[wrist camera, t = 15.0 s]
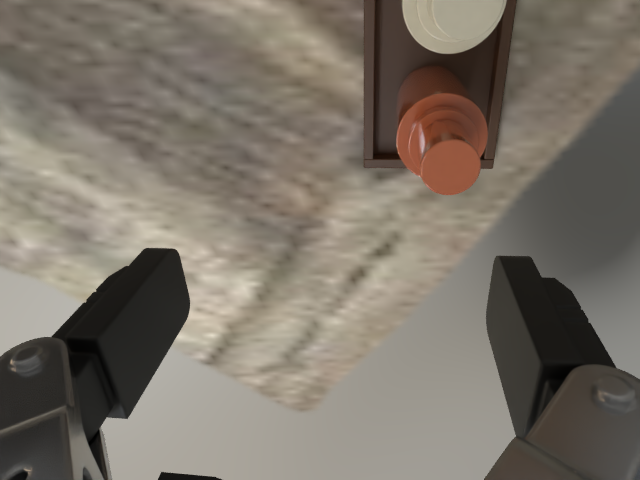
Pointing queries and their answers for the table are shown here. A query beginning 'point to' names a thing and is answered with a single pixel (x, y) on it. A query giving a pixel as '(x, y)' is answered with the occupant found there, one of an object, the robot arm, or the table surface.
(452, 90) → the terracotta bottle
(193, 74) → the table surface
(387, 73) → the tray
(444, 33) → the cream bottle
